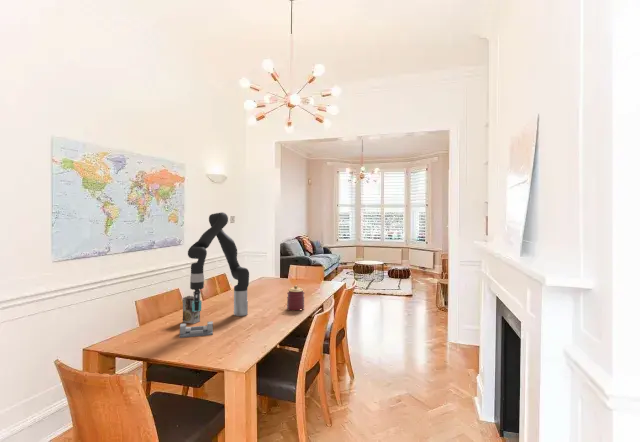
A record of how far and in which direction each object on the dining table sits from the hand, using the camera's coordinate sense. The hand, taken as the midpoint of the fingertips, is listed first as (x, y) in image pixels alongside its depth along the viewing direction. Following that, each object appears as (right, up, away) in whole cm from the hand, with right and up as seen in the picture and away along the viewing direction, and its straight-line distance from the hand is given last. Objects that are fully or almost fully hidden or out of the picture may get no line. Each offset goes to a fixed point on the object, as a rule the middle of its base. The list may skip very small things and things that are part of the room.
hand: (196, 309), depth 200 cm
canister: (+55, -14, +55) cm, 79 cm away
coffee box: (-11, -14, +21) cm, 27 cm away
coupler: (0, 0, 0) cm, 0 cm away
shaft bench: (0, -14, 0) cm, 14 cm away
